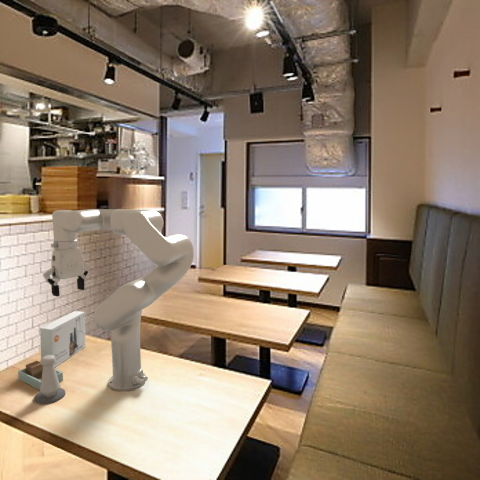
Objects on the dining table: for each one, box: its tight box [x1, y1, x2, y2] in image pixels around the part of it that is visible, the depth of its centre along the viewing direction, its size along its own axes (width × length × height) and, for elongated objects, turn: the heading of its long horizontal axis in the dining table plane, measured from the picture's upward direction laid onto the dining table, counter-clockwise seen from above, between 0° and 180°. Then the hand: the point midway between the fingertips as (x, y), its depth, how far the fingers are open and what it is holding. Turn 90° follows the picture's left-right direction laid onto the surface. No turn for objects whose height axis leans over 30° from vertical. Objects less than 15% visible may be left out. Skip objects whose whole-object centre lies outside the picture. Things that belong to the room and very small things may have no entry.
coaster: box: [33, 387, 66, 405], centre depth 123 cm, size 9×9×1 cm
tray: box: [17, 367, 64, 391], centre depth 133 cm, size 14×8×3 cm, turn 58°
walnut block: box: [25, 360, 43, 380], centre depth 135 cm, size 4×4×5 cm
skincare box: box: [39, 310, 86, 368], centre depth 150 cm, size 21×5×16 cm, turn 168°
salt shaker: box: [39, 355, 61, 398], centre depth 122 cm, size 6×6×13 cm
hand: (68, 292), depth 135 cm, fingers open, 9 cm apart
